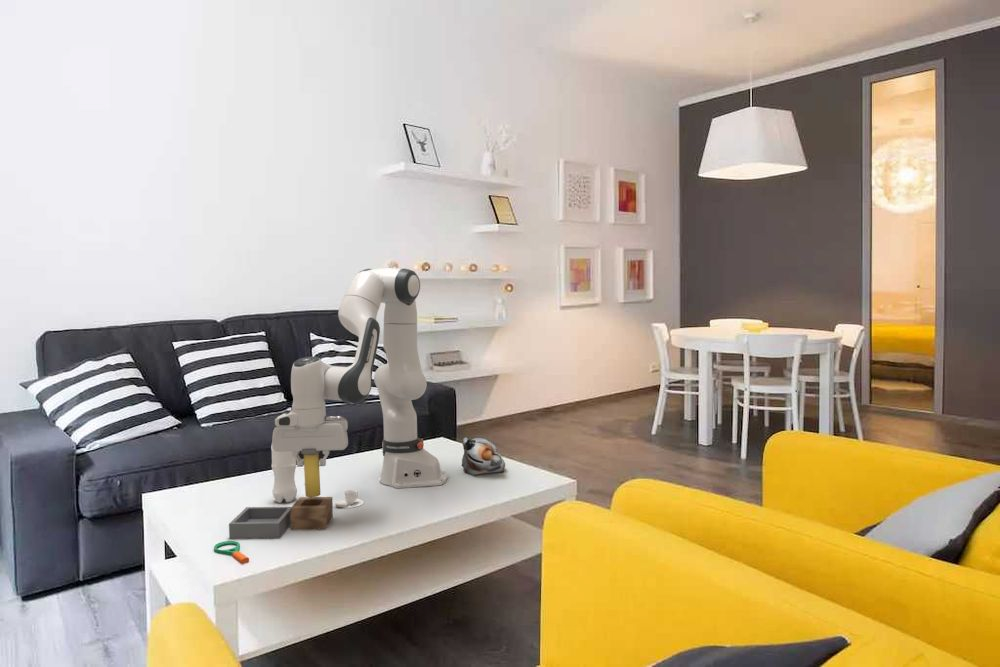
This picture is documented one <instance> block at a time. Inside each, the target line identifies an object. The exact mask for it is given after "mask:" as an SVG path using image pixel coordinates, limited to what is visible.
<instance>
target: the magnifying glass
mask: <svg viewBox="0 0 1000 667" xmlns="http://www.w3.org/2000/svg"><path fill="white" fill-rule="evenodd" d="M227 546H235V547H232V548H227V549H220V548H222V547H227ZM240 550H241V545H240V542H239V541H236V540H225V541H222V542H218V543H217V544H215V545H214V546H213V551H214V553H216V554H221V555H225V556H229V557H232V558H234V559H235V560H237V561H238V562H239V563H241V564H242V565H244V564H247V563H249V562H250V558H249V557H248V556H246V555H245V554H244V553H243V552H241V551H240Z"/></svg>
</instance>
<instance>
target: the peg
mask: <svg viewBox="0 0 1000 667" xmlns="http://www.w3.org/2000/svg"><path fill="white" fill-rule="evenodd" d="M321 452H322V451H317V450H316V449H302V451H300V453H301V455H303V459H304V466H303V471H304V474H303V475H304V490H305V497H320V495H321V477H320V475H321V474H320V466H319V464H320V463H319V460H320V458H319V456H320V453H321Z"/></svg>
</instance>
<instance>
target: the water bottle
mask: <svg viewBox="0 0 1000 667" xmlns="http://www.w3.org/2000/svg"><path fill="white" fill-rule="evenodd" d="M270 450H271V470H272V472H273V477H274V482H273V483H274V484H273V488H272V497H273V498H274V500H275V502H276V503H277V504H281V503H283V501H285V503H291V502H292V501H293V500H294V501H295V499H296V497H297V494H298V488H297V485H296V481H295V472H296V468H297V461H296V460H295V458H294V457H293V455H292V451H281V452H276V451H274V449H273V448H272V444H271V446H270Z"/></svg>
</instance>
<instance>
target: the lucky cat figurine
mask: <svg viewBox="0 0 1000 667" xmlns="http://www.w3.org/2000/svg"><path fill="white" fill-rule="evenodd" d="M462 446H463V447H462V448H463V455H462V458H461V467H462V468H463V471H464V473H466V474H469V475H471V476H477V475H480V474H481V475H482V474H487V473H504V471H505V468H506V462H505V461H504V458H503V457H502V454H500V452H499V450H498V448H497V446H496V445H495V444H493V442H492V441H489V440H487V438H482V437H481V438H480V437H476V438H475V437H474V438H473V439H469V437H464V438H463V439H462Z"/></svg>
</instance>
